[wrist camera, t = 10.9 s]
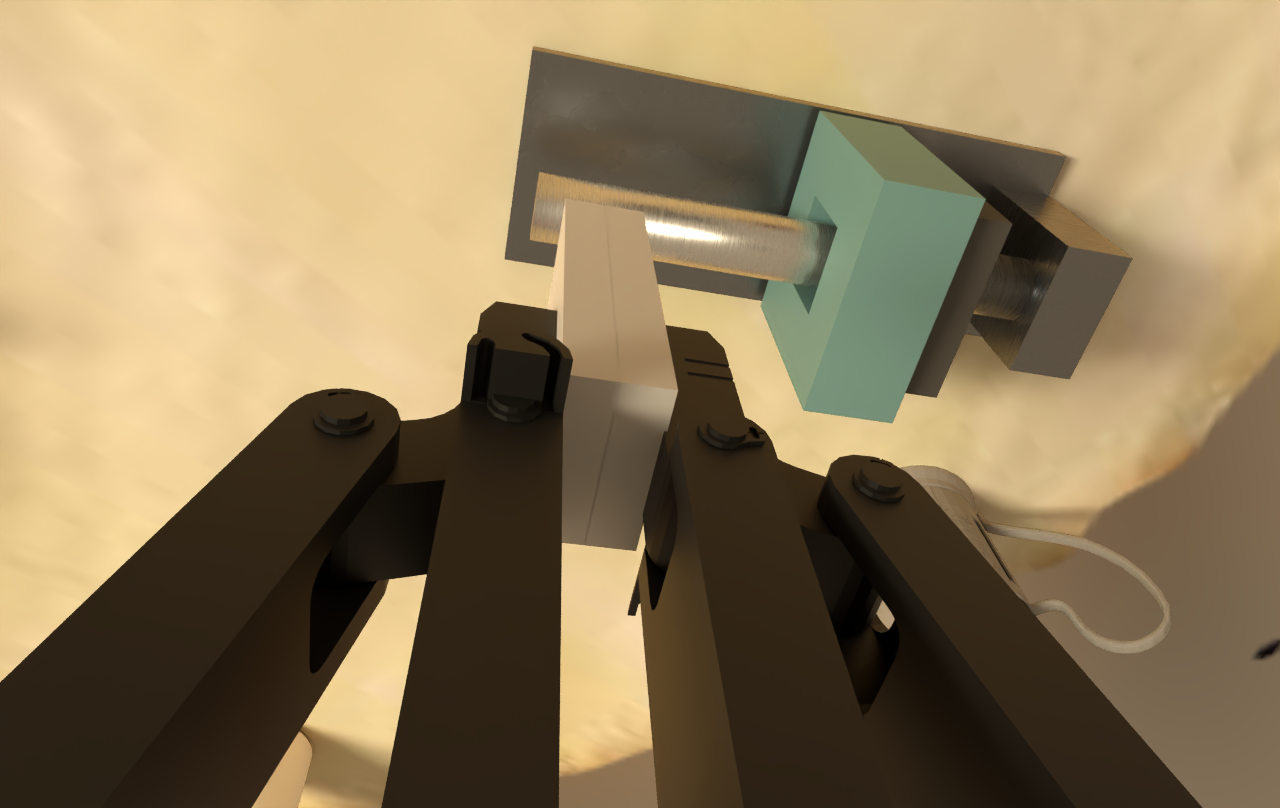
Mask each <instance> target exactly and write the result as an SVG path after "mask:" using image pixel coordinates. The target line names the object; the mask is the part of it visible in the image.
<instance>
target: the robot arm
mask: <svg viewBox="0 0 1280 808" xmlns="http://www.w3.org/2000/svg"><path fill="white" fill-rule="evenodd" d="M643 523H644V533H645V542H646V545H645V549H644V553H643V556H642V560H641V564H640V568H639V571H638V575H637V579H636V582H635V586H634V590H633V594H632V597H631V601H630V605H629V610H628V615H631V616H635V615H636V611H637V608H638V604H640V603H641V614H642V626H643V637H644V649H645V661H646V672H647V684H648V695H649V707H650V719H651V730H652V742H653V754H654V765H655V777H656V787H657V800H658V808H1202V807H1201V806H1200V805H1199V803H1198V802H1197V801H1196V800H1195V799H1194V797H1193V796H1192V795H1191V794H1190V793H1189V792H1188V791H1187V789H1186V788H1185V787H1184V786H1183V785H1182V784H1181V783H1180V781H1179V780H1178V779H1177V778H1176V777H1175V776H1174V775H1173V773H1172V772H1171V771H1170V770H1169V769H1168V768H1167V767H1166V765H1165V764H1164V763H1163V762H1162V761H1161V760H1160V758H1159V757H1158V756H1157V755H1156V754H1155V753H1154V752H1153V750H1152V749H1151V748H1150V747H1149V746H1148V745H1147V744H1146V742H1145V741H1144V740H1143V739H1142V738H1141V737H1140V736H1139V735H1138V733H1137V732H1136V731H1135V730H1134V729H1133V728H1132V726H1131V725H1130V724H1129V723H1128V722H1127V721H1126V720H1125V718H1124V717H1123V716H1122V715H1121V714H1120V713H1119V711H1118V710H1117V709H1116V708H1115V707H1114V706H1113V705H1112V703H1111V702H1110V701H1109V700H1108V699H1107V698H1106V697H1105V695H1104V694H1103V693H1102V692H1101V691H1100V690H1099V689H1098V687H1097V686H1096V685H1095V684H1094V683H1093V682H1092V681H1091V679H1090V678H1089V677H1088V676H1087V675H1086V674H1085V672H1084V671H1083V670H1082V669H1081V668H1080V667H1079V666H1078V665H1077V663H1076V662H1075V661H1074V660H1073V659H1072V658H1071V656H1070V655H1069V654H1068V653H1067V652H1066V651H1065V650H1064V648H1063V647H1062V646H1061V645H1060V644H1059V643H1058V642H1057V640H1056V639H1055V638H1054V637H1053V636H1052V635H1051V634H1050V632H1049V631H1048V630H1047V629H1046V628H1045V627H1044V626H1043V624H1042V623H1041V622H1040V621H1039V620H1038V619H1037V617H1036V616H1035V615H1034V614H1033V613H1032V612H1031V611H1030V609H1029V608H1028V607H1027V606H1026V605H1025V604H1024V603H1023V601H1022V600H1021V599H1020V598H1019V597H1018V596H1017V594H1016V593H1015V592H1014V591H1013V590H1012V589H1011V588H1010V586H1009V585H1008V584H1007V583H1006V582H1005V581H1004V580H1003V578H1002V577H1001V576H1000V575H999V574H998V573H997V572H996V570H995V569H994V568H993V567H992V566H991V565H990V564H989V562H988V561H987V560H986V559H985V558H984V557H983V556H982V554H981V553H980V552H979V551H978V550H977V549H976V547H975V546H974V545H973V544H972V543H971V542H970V541H969V539H968V538H967V537H966V536H965V535H964V534H963V533H962V531H961V530H960V529H959V528H958V527H957V526H956V525H955V523H954V522H953V521H952V520H951V519H950V518H949V517H948V515H947V514H946V513H945V512H944V511H943V510H942V508H941V507H940V506H939V505H938V504H937V503H936V502H935V500H934V499H933V498H932V497H931V496H930V495H929V494H928V492H927V491H926V490H925V489H924V488H923V487H922V486H921V484H920V483H919V482H917V481H916V480H915V479H914V478H913V477H912V476H911V475H909V474H908V473H907V472H906V471H904V470H902V469H900V468H898V467H897V466H895V465H893V464H892V463H891V462H888V461H886V460H883V459H882V460H880V458H876V457H872V456H860V455H850V456H844V457H839V458H838V459H837V460H835V461H834V462H833V463H831V465H830V468H829V471H828V473H827V476H826V477H824V476H821V475H818V474H815V473H812V472H809V471H806V470H803V469H800V468H797V467H795V466H792V465H790V464H787V463H785V462H782V461H781V460H779V459H778V458H777V455H776V452H775V449H774V446H773V443H772V441H771V439H770V438H769V436H768V435H767V433H766V431H765V430H763V429H762V428H761V427H760V426H758V425H757V424H756V423H754V422H753V421H751V420H749V419H747V418H745V417H744V413H743V410H742V407H741V403H740V400H739V397H738V393H737V390H736V387H735V383H734V382H733V377H732V373H731V370H730V368H729V363H728V360H727V357H726V354H725V350H724V348H723V347H722V346H721V345H720V344H719V343H718V342H717V341H716V340H715V339H714V338H713V337H712V336H711V335H710V334H709V333H708V332H706V331H700V330H693V329H687V328H681V327H674V326H668V325H665V320H664V315H663V310H662V305H661V300H660V294H659V289H658V284H657V279H656V274H655V269H654V264H653V258H652V253H651V248H650V243H649V238H648V233H647V227H646V222H645V217H644V212H640V211H634V210H629V209H623V208H617V207H611V206H606V205H600V204H594V203H588V202H583V201H577V200H571V199H565V205H564V211H563V217H562V223H561V229H560V235H559V241H558V247H557V253H556V260H555V266H554V272H553V278H552V284H551V290H550V296H549V302H548V308H547V309H543V308H536V307H530V306H523V305H517V304H510V303H504V302H497V301H496V302H495V303H494V304H493V305H491V306H490V307H489V308H487V309H486V310H485V311H484V312H482V313H481V315H480V320H479V326H478V331H477V334H475V335H473V337H472V338H471V340H470V341H469V343H468V345H467V353H466V362H465V370H464V379H463V388H462V396H461V403H460V404H458V405H457V406H456V407H455V408H454V409H452V410H450V411H449V412H447V413H445V414H442V415H439V416H435V417H432V418H427V419H419V420H408V421H401V420H400V417H399V414H398V411H397V409H396V408H395V407H394V406H393V405H392V404H390V403H389V402H388V401H387V400H386V399H384V398H381V397H379V396H376V395H374V394H372V393H369V392H365V391H359V390H353V389H343V388H340V389H326V390H321V391H318V392H314V393H310V394H306V395H304V396H303V397H301V398H299V399H298V400H296V401H295V402H293V403H291V404H290V405H289V406H288V407H287V408H286V409H285V410H284V411H283V412H282V413H281V414H280V415H279V416H278V417H277V418H276V419H275V420H274V421H273V422H271V423H270V424H269V425H268V426H267V427H266V428H265V429H264V430H263V431H262V432H261V433H260V434H259V435H258V436H257V437H256V438H255V439H254V440H253V441H252V442H251V443H250V444H249V445H247V446H246V447H245V448H244V449H243V450H242V451H241V452H240V453H239V454H238V455H237V456H236V457H235V458H234V459H233V460H232V461H231V462H230V463H229V464H228V465H227V466H226V467H225V468H223V469H222V470H221V471H220V472H219V473H218V474H217V475H216V476H215V477H214V478H213V479H212V480H211V481H210V482H209V483H208V484H207V485H206V486H205V487H204V488H203V489H202V490H201V491H199V492H198V493H197V494H196V495H195V496H194V497H193V498H192V499H191V500H190V501H189V502H188V503H187V504H186V505H185V506H184V507H183V508H182V509H181V510H180V511H179V512H178V513H177V514H175V515H174V516H173V517H172V518H171V519H170V520H169V521H168V522H167V523H166V524H165V525H164V526H163V527H162V528H161V529H160V530H159V531H158V532H157V533H156V534H155V535H154V536H153V537H151V538H150V539H149V540H148V541H147V542H146V543H145V544H144V545H143V546H142V547H141V548H140V549H139V550H138V551H137V552H136V553H135V554H134V555H133V556H132V557H131V558H130V559H129V560H127V561H126V562H125V563H124V564H123V565H122V566H121V567H120V568H119V569H118V570H117V571H116V572H115V573H114V574H113V575H112V576H111V577H110V578H109V579H108V580H107V581H106V582H105V583H103V584H102V585H101V586H100V587H99V588H98V589H97V590H96V591H95V592H94V593H93V594H92V595H91V596H90V597H89V598H88V599H87V600H86V601H85V602H84V603H83V604H82V605H81V606H79V607H78V608H77V609H76V610H75V611H74V612H73V613H72V614H71V615H70V616H69V617H68V618H67V619H66V620H65V621H64V622H63V623H62V624H61V625H60V626H59V627H58V628H57V629H55V630H54V631H53V632H52V633H51V634H50V635H49V636H48V637H47V638H46V639H45V640H44V641H43V642H42V643H41V644H40V645H39V646H38V647H37V648H36V649H35V650H34V651H33V652H31V653H30V654H29V655H28V656H27V657H26V658H25V659H24V660H23V661H22V662H21V663H20V664H19V665H18V666H17V667H16V668H15V669H14V670H13V671H12V672H11V673H10V674H9V675H7V676H6V677H5V678H4V679H3V680H2V681H1V682H0V808H252V807H253V805H254V803H255V802H256V800H257V799H258V797H259V795H260V794H261V792H262V790H263V789H264V787H265V786H266V784H267V782H268V781H269V779H270V778H271V776H272V774H273V773H274V771H275V770H276V768H277V766H278V765H279V763H280V761H281V760H282V758H283V757H284V755H285V753H286V752H287V750H288V749H289V747H290V745H291V744H292V742H293V741H294V739H295V737H296V736H297V734H298V733H299V731H300V729H301V728H302V726H303V724H304V723H305V721H306V720H307V718H308V716H309V715H310V713H311V712H312V710H313V708H314V707H315V705H316V704H317V702H318V700H319V699H320V697H321V695H322V694H323V692H324V691H325V689H326V687H327V686H328V684H329V683H330V681H331V679H332V678H333V676H334V675H335V673H336V671H337V670H338V668H339V666H340V665H341V663H342V662H343V660H344V658H345V657H346V655H347V654H348V652H349V650H350V649H351V647H352V646H353V644H354V642H355V641H356V639H357V638H358V636H359V634H360V633H361V631H362V629H363V628H364V626H365V625H366V623H367V621H368V620H369V618H370V617H371V615H372V613H373V612H374V610H375V609H376V607H377V605H378V604H379V602H380V600H381V599H382V597H383V596H384V594H385V591H386V588H387V584H388V581H389V579H395V578H402V577H409V576H417V575H424V574H427V577H426V582H425V587H424V592H423V598H422V603H421V608H420V613H419V618H418V623H417V628H416V633H415V638H414V644H413V649H412V654H411V659H410V664H409V669H408V674H407V679H406V685H405V690H404V695H403V700H402V705H401V710H400V715H399V720H398V726H397V731H396V736H395V741H394V746H393V751H392V756H391V761H390V767H389V772H388V777H387V782H386V787H385V792H384V797H383V802H382V807H381V808H559V734H560V646H561V558H562V543H570V544H579V545H588V546H597V547H605V548H614V549H623V550H632V551H636V549H637V545H638V541H639V538H640V534H641V530H642V526H643ZM882 601H883V602H884V603H885V604H886V606H887V607H888V609H889V610H890V612H891V613H892V615H893V617H894V619H895V620H894V622H893V624H892V626H891V627H890V628H889V629H888V628H887V627H886V626H885V625H884V624H883V623H882V621H881V620H880V618H879V617H878V615H877V614H876V613H877V611H878V609H879V607H880V605H881V603H882Z"/></svg>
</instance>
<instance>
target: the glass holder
mask: <svg viewBox="0 0 1280 808" xmlns="http://www.w3.org/2000/svg"><path fill="white" fill-rule="evenodd" d="M900 469H902V470H904V471H906V472H907V473H908V474H909V475H911V476H912V477H913V478H914V479H915V480H916V481H917V482H919V483H920V484H921V486H922V487H923V488H924V489H925V490H926V491H927V492H928V494H929V495H930V496H931V497H932V498H933V499H934V500H935V502H936V503H937V504H938V505H939V506H940V507H941V508H942V510H943V511H944V512H945V513H946V514H947V515H948V517H949V518H950V519H951V520H952V521H953V522H954V523H955V525H956V526H957V527H958V528H959V529H960V530H961V531H962V533H963V534H964V535H965V536H966V537H967V538H968V539H969V541H970V542H971V543H972V544H973V545H974V546H975V547H976V549H977V550H978V551H979V552H980V553H981V554H982V556H983V557H984V558H985V559H986V560H987V561H988V562H989V564H990V565H991V566H992V567H993V568H994V569H995V570H996V572H997V573H998V574H999V575H1000V576H1001V577H1002V578H1003V580H1004V581H1005V582H1006V583H1007V584H1008V585H1009V586H1010V588H1011V589H1012V590H1013V591H1014V592H1015V593H1016V594H1017V596H1018V597H1019V598H1020V599H1021V600H1022V601H1023V603H1024V604H1025V605H1026V606H1027V607H1028V608H1029V609H1030V611H1031V612H1032V613H1033V614H1034V615H1035V616H1037V615H1039V614H1041V613H1045V612H1049V611H1060V612H1063V613H1064V614H1066V615H1067V616H1068V618H1069V619H1070V620H1071V621H1072V623H1073V625H1074V626H1075V627H1076V629H1078V631H1079V632H1080V633H1081V634H1082V635H1083V637H1084V638H1086V639H1087V640H1089V641H1090V642H1092V643H1093V644H1094V645H1096V646H1097V647H1100V648H1102V649H1105V650H1108V651H1110V652H1117V653H1124V654H1128V653H1138V652H1142V651H1145V650H1147V649H1150V648H1152V647H1154V646H1155V645H1157V644H1158V643H1159V642H1160V641H1162V640H1163V639H1164V638H1165V637H1166V635H1167V633H1168V632H1169V630H1170V628H1171V626H1172V621H1171V608H1170V606H1169V604H1168V602H1167V600H1166V598H1165V597H1164V595H1163V593H1162V592H1161V590H1160V589H1159V588H1158V587H1157V586H1156V584H1155V583H1154V582H1153V581H1152V580H1151V579H1150V578H1149V577H1148V576H1147V574H1146V573H1145V572H1144V571H1142V570H1141V569H1140V568H1138V567H1137V566H1136V565H1134V564H1133V563H1132V562H1131V561H1129V560H1128V559H1126V558H1125V557H1124V556H1122V555H1120V554H1118V553H1116V552H1114V551H1112V550H1110V549H1109V548H1106V547H1105V546H1103V545H1100V544H1098V543H1096V542H1093V541H1091V540H1089V539H1086V538H1082V537H1078V536H1073V535H1068V534H1062V533H1055V532H1050V531H1044V530H1037V529H1029V528H1021V527H1014V526H1007V525H1001V524H996V523H991V522H988V521H987V520H985V518H984V517H983V515H982V514H981V513H978V514H977V516H976V514H975V503H974V498H973V496H972V494H971V491H970V489H969V488H968V486H967V485H966V484H965V483H964V481H963V480H961V479H960V478H959V477H958V476H956V475H955V474H953V473H951V472H949V471H947V470H944V469H940V468H937V467H931V466H908V467H903V468H900ZM986 531H988V532H990V533H993V534H998V535H1003V536H1008V537H1014V538H1021V539H1028V540H1037V541H1044V542H1050V543H1056V544H1061V545H1066V546H1071V547H1075V548H1079V549H1083V550H1086V551H1088V552H1091V553H1093V554H1096V555H1098V556H1100V557H1103V558H1105V559H1106V560H1108V561H1110V562H1112V563H1114V564H1116V565H1118V566H1120V567H1122V568H1123V569H1125V570H1126V571H1127V572H1128V573H1130V574H1131V575H1132V576H1134V577H1135V578H1136V579H1138V580H1139V581H1140V582H1141V583H1142V584H1143V585H1144V586H1145V587H1146V588H1147V589H1148V590H1149V591H1150V593H1151V594H1152V595H1153V596H1154V597H1155V598H1156V599H1157V601H1158V603H1159V605H1160V606H1161V608H1162V610H1163V615H1164V619H1163V621H1162V623H1161V624H1160V626H1159V627H1158V628H1157V629H1156V630H1155V631H1154V632H1152V633H1151V634H1149V635H1148V636H1145V637H1143V638H1141V639H1139V640H1133V641H1118V640H1111V639H1109V638H1106V637H1103V636H1100V635H1098V634H1097V633H1095V632H1094V631H1092V630H1091V629H1089V628H1088V627H1087V626H1086V625H1085V624H1084V623H1083V621H1081V619H1080V618H1079V616H1078V615H1077V614H1076V612H1075V611H1074V610H1073V609H1072V608H1071V607H1070V605H1068V604H1066V603H1065V602H1063V601H1061V600H1056V599H1050V600H1044V601H1040V602H1037V603H1034V604H1031V605H1030V604H1029V602H1028V600H1027V598H1026V597H1025V595H1024V594H1023V592H1022V590H1021V589H1020V587H1019V585H1018V584H1017V582H1016V580H1015V579H1014V577H1013V575H1012V574H1011V572H1010V570H1009V569H1008V567H1007V565H1006V564H1005V562H1004V560H1003V559H1002V557H1001V555H1000V554H999V552H998V550H997V549H996V547H995V545H994V544H993V542H992V540H991V539H990V537H989V535H988V534H987V532H986ZM876 614H877V615H878V617H879V618H880V620H881V621H882V623H883V624H884V625H885V626H886V627H887V628H888V629H889V628H890V627H891V626H892V624H893V622H894V620H895V619H894V617H893V615H892V613H891V612H890V610H889V609H888V607H887V606H886V604H885V603H884V602H883V601H882V603H881V605H880V607H879V609H878V611H877V613H876Z"/></svg>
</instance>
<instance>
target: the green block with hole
mask: <svg viewBox="0 0 1280 808" xmlns="http://www.w3.org/2000/svg"><path fill="white" fill-rule="evenodd" d="M985 200H986V199H985V198H984V197H983V196H982V195H980V194H979V193H978V192H977V191H976V190H975V189H973V188H972V187H971V186H970V185H969V184H968V183H966V182H965V181H964V180H963V179H962V178H961V177H959V176H958V175H957V174H956V173H955V172H954V171H952V170H951V169H950V168H949V167H948V166H947V165H945V164H944V163H943V162H942V161H941V160H940V159H938V158H937V157H936V156H935V155H934V154H933V153H931V152H930V151H929V150H928V149H927V148H926V147H924V146H923V145H922V144H921V143H920V142H919V141H917V140H916V139H915V138H914V137H913V136H912V135H910V134H909V133H908V132H907V131H906V130H905V129H903V128H902V127H900V126H895V125H890V124H885V123H880V122H875V121H870V120H865V119H860V118H855V117H850V116H845V115H840V114H835V113H830V112H825V111H819V114H818V118H817V121H816V124H815V127H814V131H813V134H812V137H811V141H810V144H809V147H808V151H807V154H806V157H805V161H804V164H803V167H802V171H801V174H800V177H799V181H798V184H797V187H796V191H795V194H794V197H793V201H792V204H791V207H790V211H789V214H788V216H789V217H794V218H800V219H806V220H811V221H817V222H822V223H828V224H834V225H836V226H837V227H838V228H837V231H836V234H835V237H834V240H833V243H832V246H831V249H830V252H829V255H828V258H827V261H826V264H825V267H824V270H823V273H822V276H821V279H820V282H819V285H818V288H816V287H810V286H804V285H798V284H792V283H786V282H780V281H774V280H768V284H767V287H766V290H765V294H764V297H763V300H762V304H761V308H762V311H763V313H764V315H765V318H766V320H767V323H768V325H769V328H770V330H771V333H772V335H773V337H774V340H775V342H776V345H777V347H778V350H779V352H780V355H781V357H782V359H783V362H784V364H785V367H786V369H787V372H788V374H789V377H790V379H791V382H792V384H793V386H794V389H795V391H796V394H797V396H798V399H799V401H800V404H801V406H802V408H803V411H810V412H817V413H824V414H831V415H838V416H845V417H852V418H859V419H866V420H873V421H880V422H887V423H893V421H894V418H895V416H896V414H897V411H898V409H899V406H900V404H901V402H902V399H903V397H904V394H905V392H906V390H907V387H908V385H909V382H910V380H911V378H912V375H913V373H914V370H915V368H916V366H917V363H918V361H919V358H920V356H921V354H922V351H923V349H924V346H925V344H926V342H927V339H928V337H929V334H930V332H931V330H932V327H933V325H934V322H935V320H936V318H937V315H938V313H939V310H940V308H941V306H942V303H943V301H944V298H945V296H946V294H947V291H948V289H949V286H950V284H951V282H952V279H953V277H954V274H955V272H956V270H957V267H958V265H959V262H960V260H961V258H962V255H963V253H964V250H965V248H966V246H967V243H968V241H969V238H970V236H971V234H972V231H973V229H974V226H975V224H976V222H977V219H978V217H979V214H980V212H981V209H982V207H983V205H984V202H985Z"/></svg>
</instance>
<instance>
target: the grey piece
mask: <svg viewBox="0 0 1280 808" xmlns="http://www.w3.org/2000/svg"><path fill="white" fill-rule="evenodd" d="M819 111H825V112H830V113H835V114H840V115H845V116H850V117H855V118H860V119H865V120H870V121H875V122H880V123H885V124H890V125H895V126H900V127H902V128H903V129H905V130H906V131H907V132H908V133H909V134H910V135H912V136H913V137H914V138H915V139H916V140H917V141H919V142H920V143H921V144H922V145H923V146H924V147H926V148H927V149H928V150H929V151H930V152H931V153H933V154H934V155H935V156H936V157H937V158H938V159H940V160H941V161H942V162H943V163H944V164H945V165H947V166H948V167H949V168H950V169H951V170H952V171H954V172H955V173H956V174H957V175H958V176H959V177H961V178H962V179H963V180H964V181H965V182H966V183H968V184H969V185H970V186H971V187H972V188H973V189H975V190H976V191H977V192H978V193H979V194H980V195H982V196H983V197H984V198H985V199H986V200H985V201H987V202H988V203H989V204H990V205H991V206H992V207H994V208H995V209H996V210H997V211H998V212H999V213H1000V214H1002V215H1003V216H1004V217H1005V218H1006V219H1007V220H1009V221H1010V222H1011V223H1012V227H1011V229H1010V231H1009V233H1008V236H1007V238H1006V240H1005V243H1004V245H1003V247H1002V249H1001V252H1000V254H999V256H998V259H997V261H996V263H995V265H994V268H993V270H992V272H991V274H990V277H989V279H988V281H987V284H986V286H985V288H984V290H983V293H982V295H981V297H980V300H979V302H978V304H977V306H976V309H975V311H974V313H973V316H972V318H971V320H970V322H969V325H968V327H967V329H966V331H965V334H969V335H976V336H982V337H983V339H984V340H985V341H986V342H987V343H988V345H989V346H990V347H991V348H992V349H993V351H994V352H995V353H996V354H997V355H998V357H999V358H1000V359H1001V360H1002V361H1003V363H1004V364H1005V365H1006V366H1007V367H1008V369H1009V370H1014V371H1020V372H1026V373H1033V374H1039V375H1046V376H1052V377H1058V378H1065V379H1070V377H1071V375H1072V373H1073V371H1074V370H1075V368H1076V366H1077V364H1078V362H1079V360H1080V358H1081V356H1082V354H1083V352H1084V350H1085V349H1086V347H1087V345H1088V343H1089V341H1090V339H1091V337H1092V335H1093V333H1094V331H1095V329H1096V327H1097V326H1098V324H1099V322H1100V320H1101V318H1102V316H1103V314H1104V312H1105V310H1106V308H1107V306H1108V304H1109V303H1110V301H1111V299H1112V297H1113V295H1114V293H1115V291H1116V289H1117V287H1118V285H1119V283H1120V282H1121V280H1122V278H1123V276H1124V274H1125V272H1126V270H1127V268H1128V266H1129V264H1130V262H1131V260H1132V259H1133V258H1132V257H1130V256H1129V255H1128V254H1126V253H1125V252H1123V251H1122V250H1121V249H1119V248H1118V247H1117V246H1115V245H1114V244H1113V243H1111V242H1110V241H1109V240H1107V239H1106V238H1104V237H1103V236H1102V235H1100V234H1099V233H1098V232H1096V231H1095V230H1094V229H1092V228H1091V227H1090V226H1088V225H1087V224H1086V223H1084V222H1083V221H1081V220H1080V219H1079V218H1077V217H1076V216H1075V215H1073V214H1072V213H1071V212H1069V211H1068V210H1067V209H1065V208H1064V207H1062V206H1061V205H1060V204H1058V203H1057V202H1056V201H1054V200H1053V199H1052V198H1050V197H1049V193H1050V191H1051V189H1052V187H1053V185H1054V182H1055V180H1056V178H1057V176H1058V174H1059V171H1060V169H1061V167H1062V165H1063V162H1064V160H1065V158H1066V156H1064V155H1063V154H1061V153H1059V152H1056V151H1051V150H1046V149H1041V148H1037V147H1032V146H1027V145H1022V144H1017V143H1012V142H1007V141H1002V140H997V139H992V138H987V137H982V136H977V135H972V134H967V133H962V132H957V131H952V130H947V129H942V128H937V127H932V126H927V125H922V124H917V123H912V122H907V121H902V120H897V119H892V118H887V117H882V116H877V115H872V114H867V113H862V112H857V111H853V110H848V109H843V108H838V107H833V106H828V105H823V104H818V103H813V102H808V101H803V100H798V99H793V98H788V97H783V96H778V95H773V94H768V93H763V92H758V91H753V90H748V89H743V88H738V87H733V86H728V85H723V84H718V83H713V82H708V81H703V80H698V79H693V78H688V77H683V76H678V75H673V74H669V73H664V72H659V71H654V70H649V69H644V68H639V67H634V66H629V65H624V64H619V63H614V62H609V61H604V60H599V59H594V58H589V57H584V56H579V55H574V54H569V53H564V52H559V51H554V50H549V49H544V48H539V47H534V46H533V50H532V57H531V65H530V72H529V80H528V87H527V95H526V102H525V110H524V117H523V125H522V132H521V140H520V147H519V155H518V162H517V170H516V177H515V185H514V192H513V200H512V207H511V215H510V222H509V230H508V237H507V245H506V252H505V259H507V260H513V261H519V262H525V263H531V264H538V265H544V266H550V267H554V266H555V260H556V253H557V247H558V241H559V235H560V229H561V223H562V217H563V211H564V205H565V199H571V200H577V201H583V202H588V203H594V204H600V205H606V206H611V207H617V208H623V209H629V210H634V211H640V212H644V217H645V222H646V227H647V233H648V238H649V243H650V248H651V253H652V258H653V264H654V269H655V274H656V279H657V284H661V285H667V286H673V287H679V288H686V289H692V290H698V291H704V292H710V293H716V294H723V295H729V296H735V297H741V298H747V299H753V300H760V301H762V300H763V297H764V294H765V290H766V287H767V284H768V280H774V281H780V282H786V283H792V284H798V285H804V286H810V287H816V288H818V285H819V282H820V279H821V276H822V273H823V270H824V267H825V264H826V261H827V258H828V255H829V252H830V249H831V246H832V243H833V240H834V237H835V234H836V231H837V228H838V227H837V226H836V225H834V224H828V223H822V222H817V221H811V220H806V219H800V218H794V217H789V216H788V214H789V211H790V207H791V204H792V201H793V197H794V194H795V191H796V187H797V184H798V181H799V177H800V174H801V171H802V167H803V164H804V161H805V157H806V154H807V151H808V147H809V144H810V141H811V137H812V134H813V131H814V127H815V124H816V121H817V118H818V114H819Z"/></svg>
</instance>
